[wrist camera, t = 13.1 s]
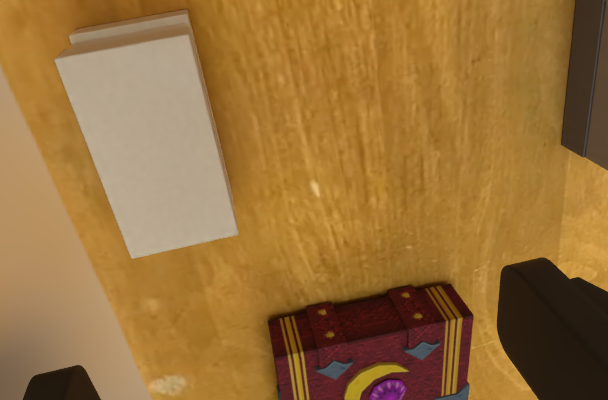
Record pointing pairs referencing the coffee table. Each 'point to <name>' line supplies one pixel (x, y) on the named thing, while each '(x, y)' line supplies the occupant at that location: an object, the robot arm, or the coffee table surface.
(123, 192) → the thin cream book
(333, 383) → the decorative book
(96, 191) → the coffee table surface
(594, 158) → the grey books
